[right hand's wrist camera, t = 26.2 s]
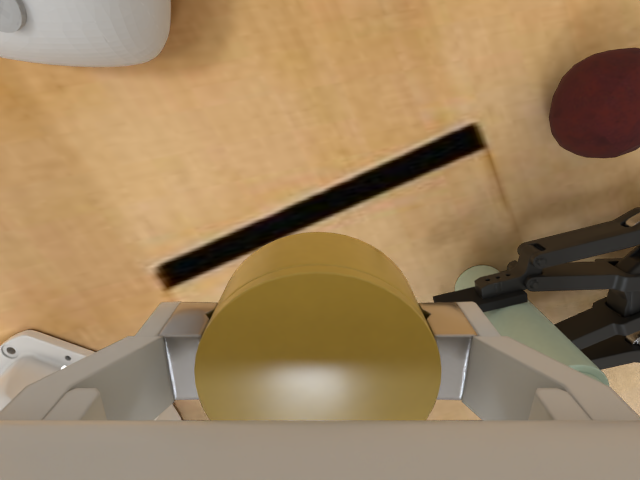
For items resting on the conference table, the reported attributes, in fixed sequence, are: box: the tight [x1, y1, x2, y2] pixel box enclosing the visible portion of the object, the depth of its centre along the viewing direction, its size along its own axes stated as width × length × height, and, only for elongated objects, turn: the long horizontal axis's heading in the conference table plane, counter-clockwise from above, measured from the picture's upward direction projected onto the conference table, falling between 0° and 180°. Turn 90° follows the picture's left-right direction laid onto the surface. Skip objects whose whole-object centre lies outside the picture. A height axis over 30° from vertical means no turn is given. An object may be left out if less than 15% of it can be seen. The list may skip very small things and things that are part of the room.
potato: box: [549, 48, 640, 158], centre depth 28 cm, size 7×8×7 cm
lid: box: [194, 232, 442, 420], centre depth 9 cm, size 5×5×2 cm
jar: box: [455, 265, 609, 386], centre depth 29 cm, size 5×5×16 cm
